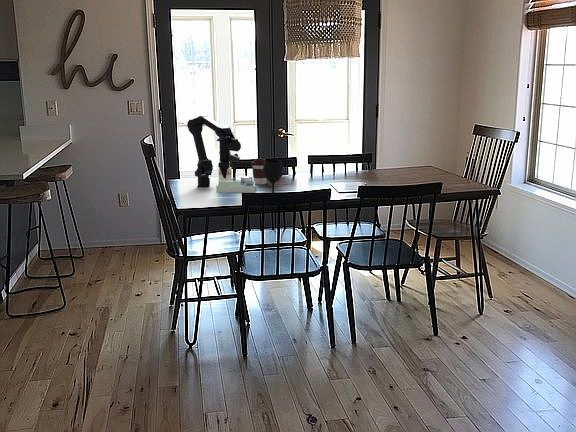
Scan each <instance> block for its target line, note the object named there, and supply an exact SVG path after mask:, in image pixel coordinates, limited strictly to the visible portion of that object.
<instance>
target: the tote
mask: <svg viewBox="0 0 576 432" xmlns="http://www.w3.org/2000/svg"><path fill="white" fill-rule="evenodd" d="M215 187H216V188H215V192H216V193H255V192H256V184H255V181H254V180H253V186H241V180H231V181H219V180H218V181H217V184H216V186H215Z"/></svg>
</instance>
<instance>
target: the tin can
mask: <svg viewBox="0 0 576 432" xmlns="http://www.w3.org/2000/svg"><path fill="white" fill-rule="evenodd" d="M240 181H241V186H253V181H254V179H253V176H249V175H245V176H243V175H242V176H240Z"/></svg>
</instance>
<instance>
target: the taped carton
mask: <svg viewBox="0 0 576 432" xmlns="http://www.w3.org/2000/svg"><path fill="white" fill-rule="evenodd" d="M232 169H233V168H232V166H230V167H229V168H228V169H227V174H226V178H224V177H223V175H222V173H221V170H220V168H219V167H218V181H233V180H232V179H233V178H232V177H233V176H232V173H233V171H232Z"/></svg>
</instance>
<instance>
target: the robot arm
mask: <svg viewBox="0 0 576 432" xmlns="http://www.w3.org/2000/svg"><path fill="white" fill-rule="evenodd" d="M186 124H187V125H186V127H187V129H188V132H189V133H190V134H191V135H192V136H193V137H192V138H193V141H194V142H193V143H194V146H195V150H196V153H197V158H198V161H197V163H196V167H197V169H196V170H195V171H194V176H195V177H197V188H209V187H210V186H211V177H210V176H212V174H213V169H214V165H213V160H212V159H210V158H208V156H207V152H206V147H205V143H204V139H203V135H202V132H203V130H204V129H203V126H205V127H208V128H209V129H210V130H212V131H214V133H215V135H216V136H217V137H218V138H217V139H216V141H217V142H219V153H218V154H219V160H218V161H219V162H218V163H217V164H218V165H217V167H218V169H219V168H220V170H221V173H222V175H223V177H224V178H226V174H227V169H228V168H229V167H231V163H232V162H234V163H236V164H239V162H240V158H241V157H240V156H239V154H238V153H237V152H239V151H240V150H241V149H242V144H241V142H240V141H239V139H238V138H236V137H235V135H234V133H233V131H232V128H231V127H229V126H226V125H223V124H220V123H218V122H217V121H215V120H214V119H212V118H211V117H209V116H208V115H207V114H202V115H198V116H197V117H195V118H191V119H188V121H187V123H186ZM231 151H232V152H234V154H232V152H231ZM235 152H236V153H235Z"/></svg>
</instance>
